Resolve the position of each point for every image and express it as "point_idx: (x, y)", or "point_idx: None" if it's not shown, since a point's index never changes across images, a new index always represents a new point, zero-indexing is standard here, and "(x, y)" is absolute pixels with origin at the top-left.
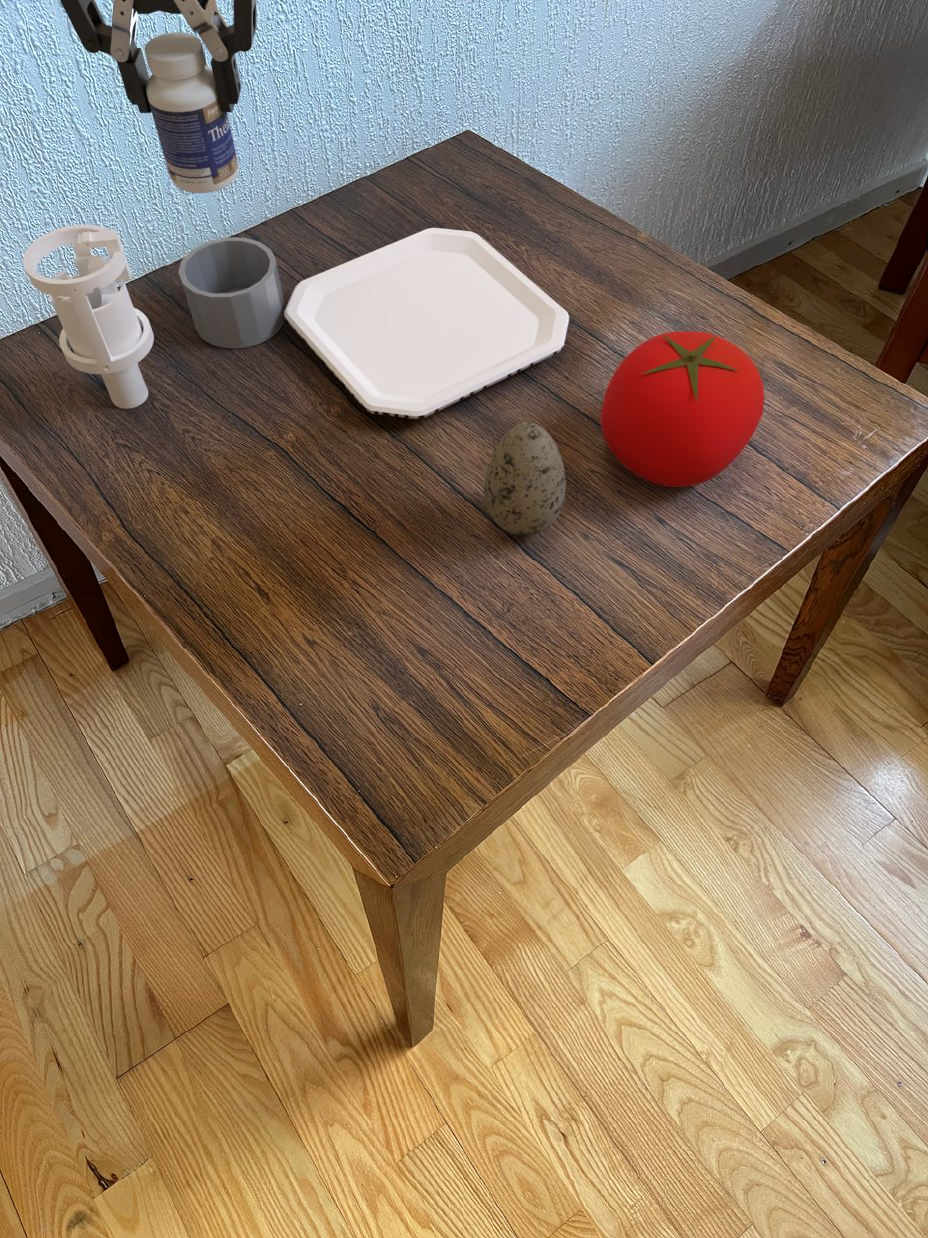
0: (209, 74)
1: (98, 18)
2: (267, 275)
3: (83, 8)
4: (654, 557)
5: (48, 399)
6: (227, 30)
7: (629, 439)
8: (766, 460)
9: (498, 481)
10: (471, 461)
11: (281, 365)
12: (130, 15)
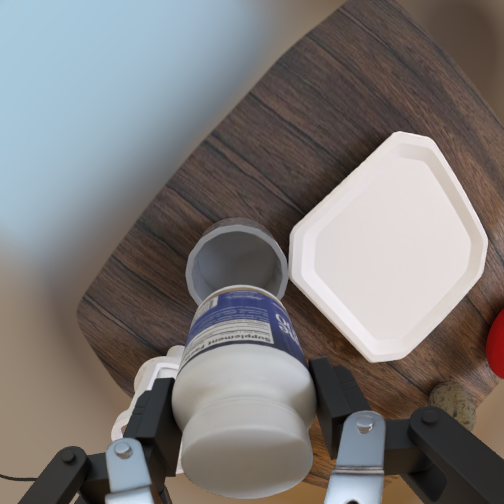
0: (302, 408)
1: (77, 485)
2: (284, 285)
3: None
4: (478, 384)
5: (126, 363)
6: (388, 461)
7: (499, 376)
8: None
9: None
10: (420, 361)
11: (289, 309)
12: None
